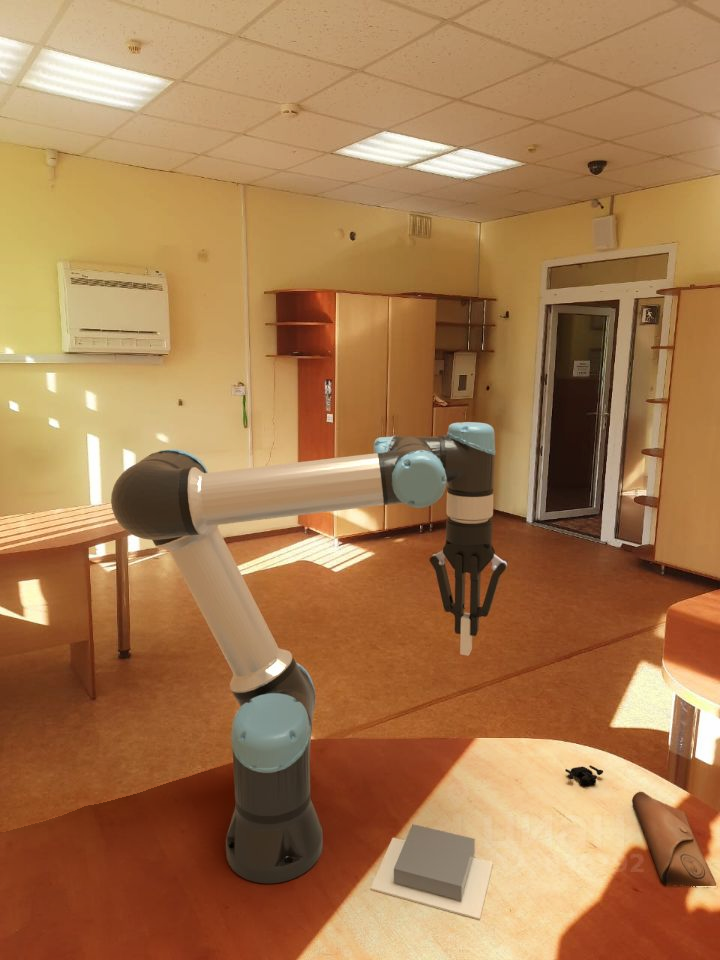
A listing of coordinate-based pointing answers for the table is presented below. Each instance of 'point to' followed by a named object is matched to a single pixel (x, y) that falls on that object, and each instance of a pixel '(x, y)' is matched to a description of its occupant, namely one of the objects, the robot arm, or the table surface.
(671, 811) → the sunglasses case
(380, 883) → the felt mat
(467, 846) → the slate tile
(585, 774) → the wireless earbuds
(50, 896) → the table surface
